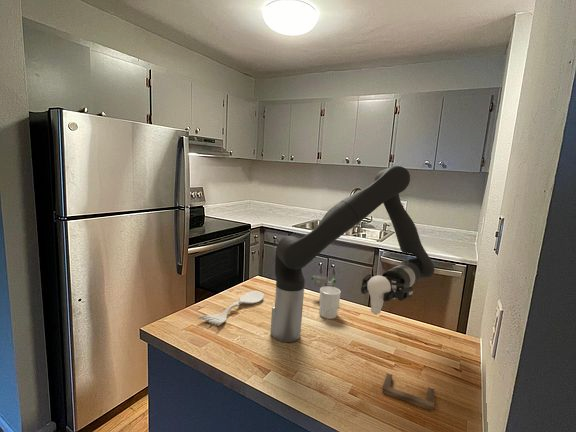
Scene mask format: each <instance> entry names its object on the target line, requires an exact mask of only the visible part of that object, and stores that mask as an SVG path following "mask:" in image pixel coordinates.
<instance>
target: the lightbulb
mask: <svg viewBox="0 0 576 432" xmlns="http://www.w3.org/2000/svg"><path fill="white" fill-rule="evenodd" d="M367 289H368V292H367V293H368V294H369V296H370V305H371V307H370V312H371V313H372V314H374V315H380V314H381V311H382V307H383V306H384V305H383V304H384V302H385V301H383V298H384V294H385V293H386V292H390V290H391V285H390V282H389V281H388V280H387V279H386V278H385V277H383V276H382V275H374V276H372V278H371V279H370V280H369V281H368V284H367Z"/></svg>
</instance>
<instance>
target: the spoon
mask: <svg viewBox="0 0 576 432" xmlns="http://www.w3.org/2000/svg"><path fill="white" fill-rule="evenodd" d="M264 298H265V294H264V292H262V291H259V290H250V291H248V292H246V293H243V294H242V295H241V296H240V297H239V298H238V299H239V300H238V301H233V302H232V303H231V304H230V305H229V306H227V308H225V309H224V310H222V312H221V313H218V314H216V313H214V314H207V315H206V314H205V315H199V316H198V318H197V319H201V320H204V321H205V322H208V323H209V324H212V325H216V326H220V325H222V324H224V322H226V321H227V316H228V313H229V311H231V310H232V309H233V308H235V307H239V306H240V305H241V304H248V305H249V304H250V305H252V304H256V303H259V302H261V301H262V300H263V299H264Z"/></svg>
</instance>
